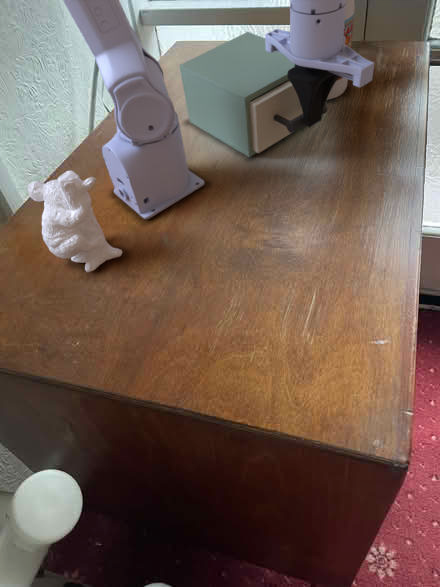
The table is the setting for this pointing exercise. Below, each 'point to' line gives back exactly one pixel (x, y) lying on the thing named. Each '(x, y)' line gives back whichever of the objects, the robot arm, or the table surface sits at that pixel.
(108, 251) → the koala figurine
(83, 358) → the table surface
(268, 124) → the drawer
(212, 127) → the mint green cabinet
